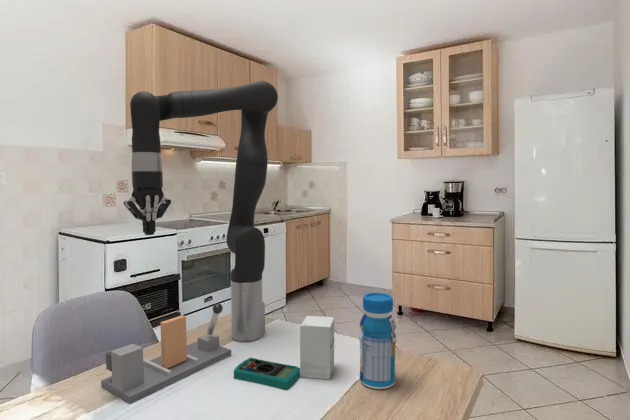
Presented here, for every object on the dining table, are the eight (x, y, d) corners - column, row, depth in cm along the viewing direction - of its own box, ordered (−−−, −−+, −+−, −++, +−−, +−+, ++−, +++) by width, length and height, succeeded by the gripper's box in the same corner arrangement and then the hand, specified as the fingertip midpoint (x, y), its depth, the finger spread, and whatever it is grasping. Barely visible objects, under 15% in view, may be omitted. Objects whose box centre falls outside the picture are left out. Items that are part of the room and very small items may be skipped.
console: (201, 344, 112) (201, 311, 111) (231, 355, 105) (230, 320, 104) (101, 386, 89) (99, 345, 88) (130, 403, 82) (128, 359, 81)
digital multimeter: (248, 366, 100) (247, 355, 99) (301, 377, 94) (301, 365, 94) (231, 379, 93) (230, 367, 93) (287, 392, 87) (287, 379, 87)
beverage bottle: (372, 394, 85) (372, 303, 84) (352, 376, 93) (352, 293, 91) (403, 385, 89) (404, 298, 87) (381, 369, 96) (382, 289, 95)
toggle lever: (210, 330, 107) (219, 300, 104) (215, 335, 106) (225, 306, 103) (202, 333, 105) (211, 302, 102) (208, 339, 104) (218, 308, 101)
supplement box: (330, 380, 91) (330, 327, 90) (299, 377, 93) (299, 325, 92) (335, 365, 99) (335, 316, 98) (306, 363, 100) (306, 314, 99)
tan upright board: (183, 358, 99) (182, 315, 98) (187, 359, 98) (185, 316, 97) (161, 367, 94) (160, 322, 93) (165, 369, 93) (164, 323, 92)
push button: (122, 362, 91) (121, 347, 91) (126, 365, 90) (125, 349, 90) (106, 368, 89) (105, 353, 88) (110, 371, 87) (110, 355, 87)
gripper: (131, 169, 97) (133, 238, 98) (177, 170, 108) (179, 233, 109) (115, 169, 102) (117, 236, 103) (161, 170, 112) (163, 231, 113)
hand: (149, 234), depth 106 cm, fingers closed
